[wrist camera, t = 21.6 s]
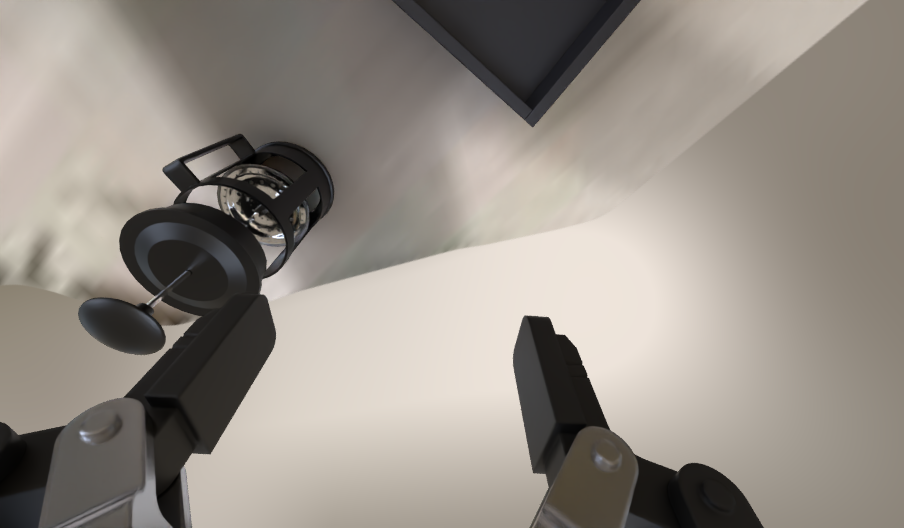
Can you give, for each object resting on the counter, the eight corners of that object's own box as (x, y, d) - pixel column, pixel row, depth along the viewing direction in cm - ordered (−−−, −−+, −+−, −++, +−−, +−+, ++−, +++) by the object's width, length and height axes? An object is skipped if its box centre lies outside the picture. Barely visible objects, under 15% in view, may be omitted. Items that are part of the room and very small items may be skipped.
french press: (354, 209, 39) (255, 369, 20) (289, 239, 41) (143, 409, 22) (287, 108, 33) (52, 196, 14) (216, 149, 35) (-72, 274, 16)
